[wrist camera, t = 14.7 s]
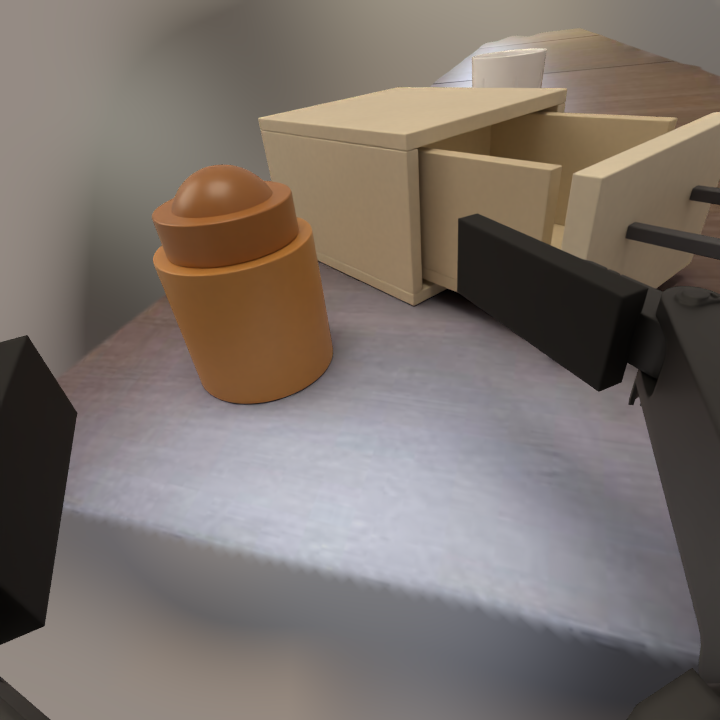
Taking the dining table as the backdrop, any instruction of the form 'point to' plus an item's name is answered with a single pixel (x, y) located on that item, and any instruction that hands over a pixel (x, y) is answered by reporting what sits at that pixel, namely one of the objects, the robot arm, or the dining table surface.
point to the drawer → (577, 189)
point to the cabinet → (379, 171)
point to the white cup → (509, 69)
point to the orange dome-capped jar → (243, 285)
